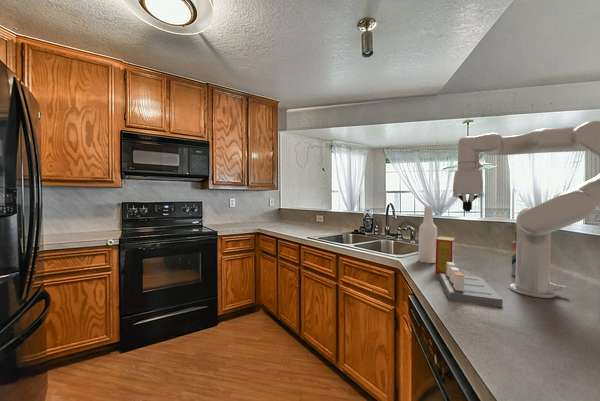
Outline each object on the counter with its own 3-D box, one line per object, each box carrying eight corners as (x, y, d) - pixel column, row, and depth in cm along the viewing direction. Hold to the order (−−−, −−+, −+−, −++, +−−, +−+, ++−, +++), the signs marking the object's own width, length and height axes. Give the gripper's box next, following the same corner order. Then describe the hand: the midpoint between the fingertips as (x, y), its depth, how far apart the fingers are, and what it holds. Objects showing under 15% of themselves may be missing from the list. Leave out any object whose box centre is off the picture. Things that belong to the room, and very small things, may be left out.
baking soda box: (451, 275, 117) (452, 239, 117) (435, 272, 121) (436, 238, 121) (454, 270, 125) (455, 237, 124) (439, 268, 129) (439, 235, 128)
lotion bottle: (521, 274, 119) (523, 230, 119) (531, 278, 114) (532, 232, 113) (508, 273, 120) (509, 230, 120) (517, 277, 114) (518, 232, 114)
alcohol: (433, 260, 144) (434, 205, 144) (438, 264, 136) (440, 206, 135) (416, 259, 146) (417, 205, 145) (420, 263, 137) (421, 205, 137)
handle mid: (457, 280, 101) (457, 267, 101) (459, 283, 97) (459, 270, 97) (449, 279, 102) (449, 266, 102) (451, 283, 98) (451, 269, 98)
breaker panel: (480, 283, 107) (481, 277, 107) (502, 307, 84) (502, 299, 84) (439, 278, 112) (439, 272, 112) (449, 300, 90) (449, 292, 90)
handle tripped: (461, 287, 94) (461, 272, 93) (464, 291, 90) (464, 275, 90) (453, 286, 94) (453, 271, 94) (455, 290, 91) (456, 275, 91)
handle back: (453, 274, 109) (453, 262, 108) (455, 277, 105) (455, 265, 105) (446, 273, 109) (446, 261, 109) (447, 276, 106) (448, 264, 106)
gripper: (486, 167, 110) (485, 211, 111) (446, 168, 115) (445, 210, 116) (492, 165, 103) (491, 212, 104) (449, 166, 108) (448, 211, 109)
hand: (467, 211), depth 110 cm, fingers closed
